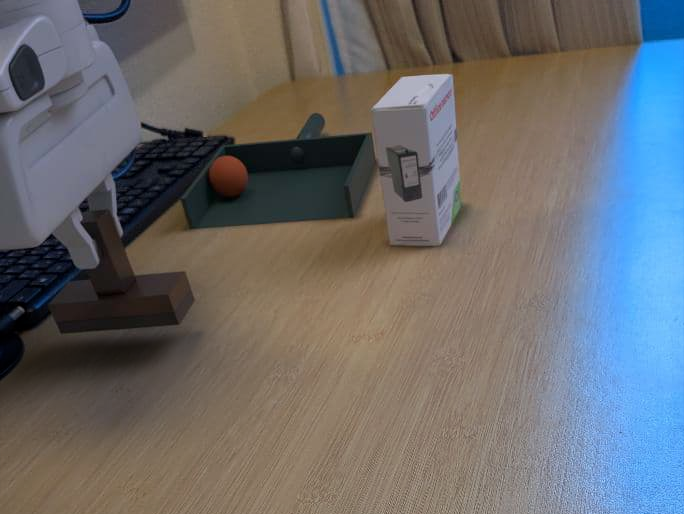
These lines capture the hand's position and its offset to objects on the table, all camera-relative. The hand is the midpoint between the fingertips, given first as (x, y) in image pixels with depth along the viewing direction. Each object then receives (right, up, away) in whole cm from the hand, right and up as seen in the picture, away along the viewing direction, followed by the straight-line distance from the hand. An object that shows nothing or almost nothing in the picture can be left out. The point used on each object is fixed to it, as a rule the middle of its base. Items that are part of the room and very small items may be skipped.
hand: (101, 253), depth 61 cm
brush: (+1, -4, +3) cm, 5 cm away
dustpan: (+11, +19, +29) cm, 36 cm away
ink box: (+25, +8, +15) cm, 30 cm away
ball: (+4, +17, +25) cm, 30 cm away
